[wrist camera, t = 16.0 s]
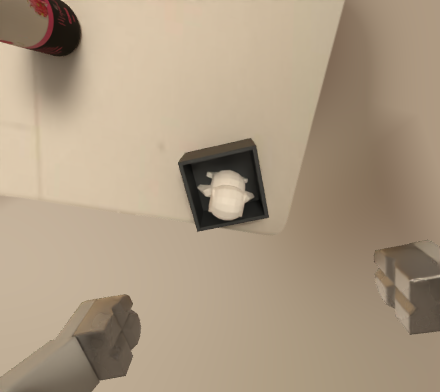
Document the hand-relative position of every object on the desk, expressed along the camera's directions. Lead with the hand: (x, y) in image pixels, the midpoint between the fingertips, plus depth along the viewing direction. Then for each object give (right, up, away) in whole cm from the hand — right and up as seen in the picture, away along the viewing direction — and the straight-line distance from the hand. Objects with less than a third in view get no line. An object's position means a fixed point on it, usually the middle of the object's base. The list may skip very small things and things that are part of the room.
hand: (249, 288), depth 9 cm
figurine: (0, +6, +32) cm, 33 cm away
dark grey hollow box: (0, +6, +32) cm, 33 cm away
